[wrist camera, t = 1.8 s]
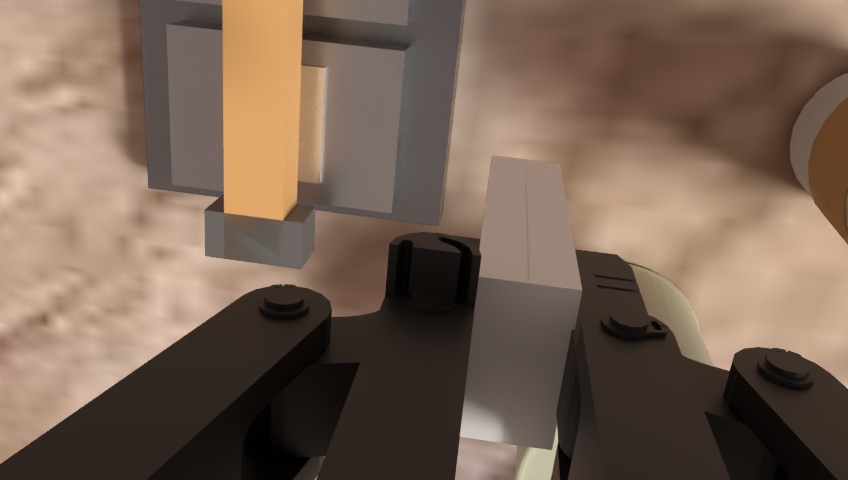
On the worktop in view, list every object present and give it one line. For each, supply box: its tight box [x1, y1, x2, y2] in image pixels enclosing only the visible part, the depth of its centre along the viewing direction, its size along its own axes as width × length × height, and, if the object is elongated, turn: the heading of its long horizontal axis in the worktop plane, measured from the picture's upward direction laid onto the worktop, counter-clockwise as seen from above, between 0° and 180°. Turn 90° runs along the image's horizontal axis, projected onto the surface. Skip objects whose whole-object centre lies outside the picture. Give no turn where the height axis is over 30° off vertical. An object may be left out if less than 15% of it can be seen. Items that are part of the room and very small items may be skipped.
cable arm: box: [205, 0, 315, 269], centre depth 28 cm, size 20×4×2 cm, turn 175°
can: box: [514, 264, 715, 480], centre depth 33 cm, size 9×9×12 cm
